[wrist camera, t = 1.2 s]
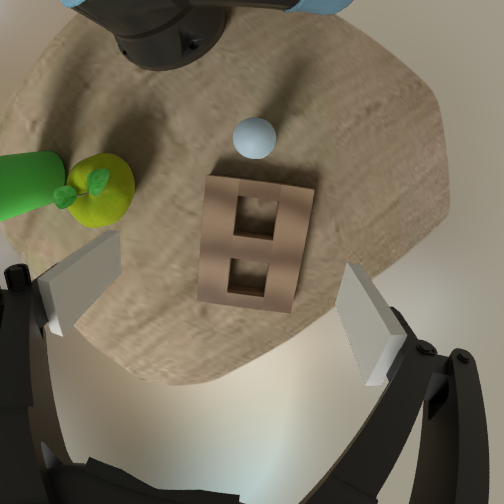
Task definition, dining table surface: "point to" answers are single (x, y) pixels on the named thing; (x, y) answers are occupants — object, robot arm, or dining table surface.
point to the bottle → (28, 181)
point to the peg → (254, 138)
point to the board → (252, 242)
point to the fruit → (97, 190)
